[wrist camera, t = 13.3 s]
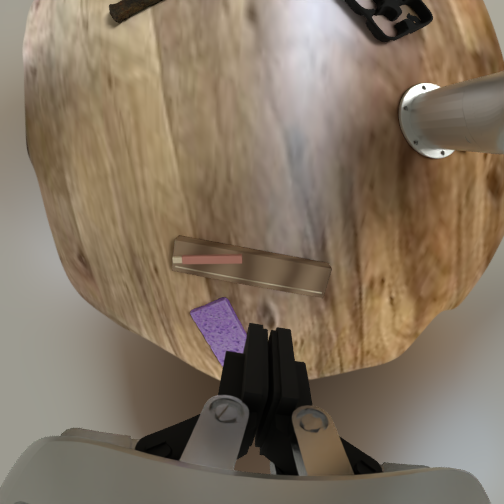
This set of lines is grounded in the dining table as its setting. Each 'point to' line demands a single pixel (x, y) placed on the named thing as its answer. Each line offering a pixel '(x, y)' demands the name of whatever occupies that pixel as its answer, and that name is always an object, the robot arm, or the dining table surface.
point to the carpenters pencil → (208, 259)
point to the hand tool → (128, 8)
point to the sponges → (220, 327)
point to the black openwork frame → (394, 16)
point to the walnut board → (255, 267)
